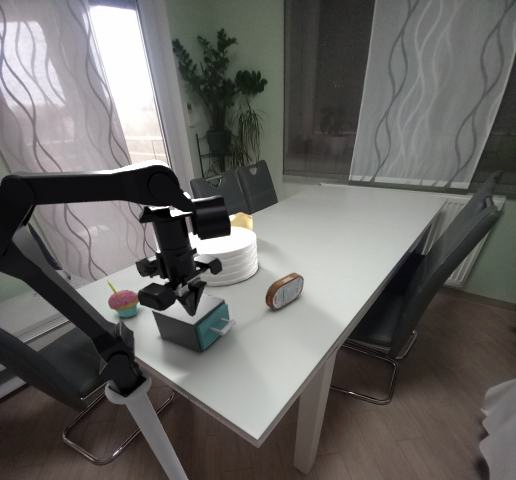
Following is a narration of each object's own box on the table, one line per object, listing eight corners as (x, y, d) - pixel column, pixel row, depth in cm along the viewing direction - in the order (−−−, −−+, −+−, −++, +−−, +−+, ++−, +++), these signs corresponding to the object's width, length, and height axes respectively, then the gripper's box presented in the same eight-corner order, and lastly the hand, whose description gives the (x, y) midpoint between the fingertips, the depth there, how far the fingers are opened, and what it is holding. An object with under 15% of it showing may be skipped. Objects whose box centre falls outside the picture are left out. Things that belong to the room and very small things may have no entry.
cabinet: (228, 325, 76) (224, 299, 71) (200, 352, 68) (193, 324, 63) (191, 313, 82) (185, 288, 76) (161, 337, 74) (151, 310, 68)
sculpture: (255, 233, 135) (254, 209, 128) (250, 241, 126) (248, 217, 119) (233, 232, 137) (230, 209, 130) (226, 241, 128) (223, 217, 121)
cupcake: (125, 324, 79) (109, 287, 72) (108, 316, 83) (91, 280, 75) (149, 310, 85) (136, 274, 77) (131, 303, 88) (117, 268, 81)
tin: (297, 292, 89) (298, 267, 83) (304, 295, 87) (306, 270, 82) (264, 311, 81) (263, 285, 76) (272, 315, 79) (272, 289, 74)
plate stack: (218, 294, 90) (212, 261, 83) (170, 271, 105) (162, 242, 98) (272, 265, 105) (272, 235, 98) (224, 249, 120) (220, 222, 113)
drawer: (243, 329, 73) (241, 308, 69) (218, 355, 66) (214, 332, 61) (195, 314, 80) (190, 293, 76) (168, 335, 73) (161, 314, 68)
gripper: (177, 224, 59) (192, 288, 69) (102, 256, 47) (133, 328, 57) (218, 230, 54) (228, 298, 64) (147, 267, 42) (172, 344, 52)
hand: (192, 315), depth 60 cm, fingers closed
